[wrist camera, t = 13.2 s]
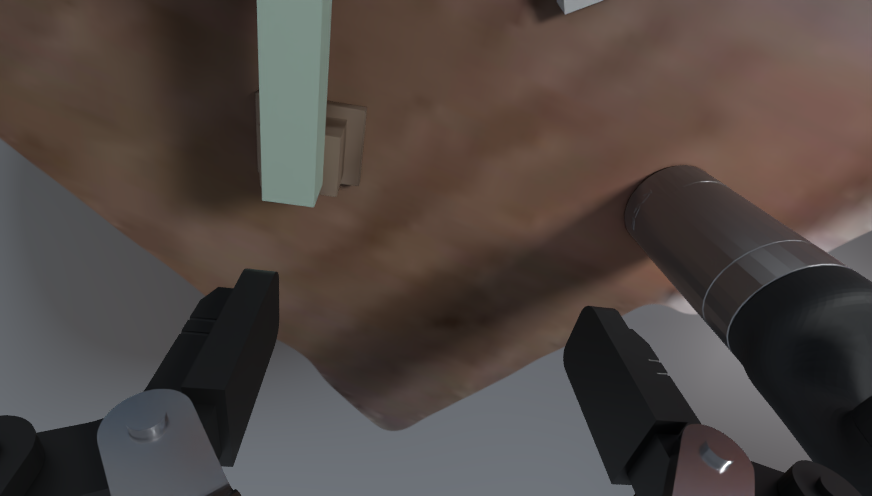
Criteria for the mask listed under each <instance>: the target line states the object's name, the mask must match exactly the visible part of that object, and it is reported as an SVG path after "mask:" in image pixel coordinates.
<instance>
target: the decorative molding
mask: <svg viewBox="0 0 872 496" xmlns="http://www.w3.org/2000/svg"><path fill="white" fill-rule="evenodd" d="M600 1H603V0H557V3H558V4H559V6H560V8H561V9H562V11H563V12H564V14H568V13H570V12H573V11H576V10H579V9H581V8H584V7H587V6H589V5H592V4H595V3H597V2H600Z"/></svg>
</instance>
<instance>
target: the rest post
mask: <svg viewBox="0 0 872 496" xmlns="http://www.w3.org/2000/svg"><path fill="white" fill-rule="evenodd" d="M255 104H256V134H257V163H258V172H260V187H262V173H261V136H260V99H259V90H258V91H256V92H255ZM366 114H367V107H363V106H357V105H351V104H345V103H339V102H333V101H327V106H326V126H325V145H324V164H323V183H322V187H321V190H320V192H319V195H326V196H333V197H337V193H338V190H339V187H340V184H346V185H353V186H359V183H360V175H361V165H362V155H363V145H364V135H365V124H366Z"/></svg>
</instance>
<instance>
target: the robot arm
mask: <svg viewBox="0 0 872 496" xmlns="http://www.w3.org/2000/svg"><path fill="white" fill-rule="evenodd" d="M624 219H625V226H626V228H627V230H628V232H629V234H630V235H631V236H632V237H633V238H634V239H635V241H636V242H637V243H638V244H639V245H640V246H641V248H642V249H643V250H644V251H645V252H646V254H647V255H648V256H649V257H650V259H651V260H652V261H653V262H654V263H655V264H656V265H657V267H658V268H659V269H660V270H661V271H662V272H663V274H664V275H665V276H666V277H667V278H668V279H669V281H670V282H671V283H672V284H673V285H674V286H675V287H676V289H677V290H678V291H679V292H680V293H681V294H682V296H683V297H684V298H685V299H686V300H687V301H688V303H689V304H690V305H691V306H692V307H693V308H694V310H695V311H696V312H697V313H698V314H699V315H700V316H701V318H703V320H704V321H705V322H706V323H707V325H708V326H709V327H710V328H711V329H712V330H713V331H714V332H715V334H716V335H717V336H718V337H719V338H720V339H721V340H722V342H723V343H724V344H725V345H726V346H727V347H728V349H729V350H730V351H731V352H732V353H733V354H734V355H735V357H736V358H737V359H738V360H739V361H740V362H741V364H742V365H743V367H744V369H745V371H746V373H747V375H748V377H749V379H750V380H751V382H752V383H753V385H754V386H755V387H756V388H757V390H758V391H759V392H760V394H761V395H762V396H763V397H764V399H765V400H766V401H767V402H768V403H769V405H770V406H771V407H772V408H773V410H774V411H775V412H776V413H777V415H778V416H779V417H780V419H781V420H782V421H783V423H784V424H785V425H786V426H787V428H788V429H789V430H790V432H791V433H792V434H793V436H794V437H795V438H796V440H797V441H798V442H799V443H800V445H801V446H802V448H803V449H804V450H805V452H806V453H807V454H808V455H809V457H810V458H811V459H812V461H813V462H812V461H807V460H804V461H803V460H801V461H798V462H796V463H795V464H794V465H793V466H791V467H790V468H789V469H788V470H787V471H786V472H785V473H784V472H781V471H777V470H775V469H772V468H769V467H766V466H764V465H761V464H758V463H755V462H752V461H750V459H749V457H748V456H747V455H746V453H745V452H744V451H743V450H742V448H741V447H740V446H739V445H738V444H737V443H736V442H735V441H733V440H732V439H731V438H729V437H728V436H727V435H726V434H724V433H722V432H721V431H719V430H716V429H715V428H713V427H710V426H707V425H703V424H701V423H700V421H699V420H698V418H697V417H696V415H695V413H694V412H693V410H692V409H691V408H690V406H689V404H688V403H687V401H686V400H685V398H684V397H683V395H682V394H681V392H680V391H679V389H678V388H677V386H676V385H675V383H674V382H673V380H672V379H671V377H670V376H668V375H667V371H666V370H665V368H664V366H663V365H662V364H661V363H659V359H658V357H657V356H656V354H655V353H654V351H653V350H652V349H651V347H650V345H649V344H648V343H647V342H646V341H645V340H644V339H643V338H642V337H640V336H639V335H638V334H637V333H636V332H635V331H634V330H633V329H629V328H628V326H627V325H626V323H625V322H624V320H623V319H622V317H621V315H620V314H619V312H618V311H617V310H616V309H613V308H603V307H594V306H586V307H584V308H583V310H582V311H581V313H580V315H579V318H578V320H577V322H576V324H575V326H574V328H573V331H572V333H571V335H570V337H569V339H568V341H567V343H566V346H565V349H564V356H563V358H564V359H563V361H564V367H565V370H566V373H567V375H568V378H569V380H570V383H571V385H572V387H573V390H574V392H575V395H576V397H577V400H578V402H579V405H580V407H581V410H582V412H583V414H584V417H585V419H586V422H587V424H588V427H589V429H590V432H591V434H592V437H593V439H594V442H595V444H596V447H597V449H598V451H599V454H600V456H601V459H602V461H603V463H604V466H605V468H606V471H607V474H608V476H609V478H610V481H611V483H612V484H622V485H632V487H633V489H634V491H635V495H634V496H872V282H871V281H869V280H868V279H866V278H865V277H863V276H862V275H860V274H859V273H857V272H856V271H854V270H852V269H851V268H849V267H848V266H846V265H845V264H843V263H842V262H840V261H839V260H837V259H836V258H834V257H833V256H831V255H830V254H828V253H827V252H825V251H824V250H822V249H820V248H819V247H817V246H816V245H814V244H813V243H811V242H810V241H808V240H807V239H805V238H804V237H802V236H801V235H799V234H798V233H796V232H795V231H793V230H792V229H790V228H789V227H787V226H786V225H784V224H783V223H781V222H780V221H778V220H777V219H775V218H774V217H772V216H771V215H769V214H768V213H766V212H765V211H763V210H762V209H760V208H759V207H757V206H756V205H754V204H753V203H751V202H750V201H748V200H747V199H745V198H744V197H742V196H741V195H739V194H738V193H736V192H734V191H733V190H731V189H730V188H729V187H727V186H726V185H724V184H723V183H721V182H720V181H718V180H717V179H715V178H714V177H712V176H711V175H709V174H708V173H706V172H705V171H703V170H701V169H699V168H697V167H694V166H688V165H680V166H673V167H669V168H666V169H663V170H661V171H659V172H656V173H655V174H653V175H652V176H650V177H648V178H647V179H646V180H645V181H644V182H643V183H641V184H640V185H639V186H638V188H637V189H636V190H635V191H634V192H633V194H632V196H631V197H630V199H629V201H628V204H627V206H626V209H625V217H624ZM278 328H279V275H278V272H274V271H264V270H255V269H244V270H243V272H242V274H241V276H240V277H239V279H238V281H237V283H236V285H235V287H234V289H233V288H223V287H218V288H216V289H215V290H214V291H212V292H211V293H210V294H208V295H207V296H205V297H204V298H203V299H201V300H200V302H199V303H198V305H197V307H196V308H195V310H194V311H193V313H192V314H191V316H190V320H188V321H187V323H186V324H185V326H184V327H183V329H182V333H181V334H179V336H178V337H177V339H176V340H175V342H174V344H173V345H172V347H171V348H170V350H169V352H168V353H167V355H166V357H165V358H164V360H163V361H162V363H161V365H160V366H159V368H158V370H157V371H156V373H155V374H154V376H153V378H152V379H151V381H150V382H149V384H148V386H147V387H146V389H145V390H144V391H143V392H141V393H138V394H136V395H134V396H131V397H129V398H127V399H125V400H124V401H122V402H121V403H119V404H118V405H116V406H115V407H114V408H113V409H112V410H111V411H110V412H109V413H108V414H107V415H106V416H105V417H104V418H103V419H100V420H97V421H93V422H89V423H85V424H79V425H74V426H69V427H64V428H59V429H54V430H49V431H44V432H39V433H36V431H35V429H34V427H33V426H32V424H31V423H30V422H29V421H27V420H25V419H23V418H21V417H17V416H8V415H4V416H0V496H241V494H240V493H239V492H238V491H237V490H236V489H235V490H233V489H232V488H231V486H230V484H229V483H228V481H227V478H226V476H225V474H224V472H223V470H222V467H221V466H228V467H233V465H234V462H235V460H236V456H237V453H238V451H239V448H240V445H241V442H242V439H243V436H244V433H245V430H246V428H247V424H248V422H249V419H250V416H251V413H252V410H253V407H254V404H255V401H256V398H257V396H258V392H259V390H260V387H261V384H262V381H263V378H264V375H265V372H266V369H267V366H268V364H269V360H270V358H271V355H272V352H273V349H274V346H275V342H276V339H277V334H278Z"/></svg>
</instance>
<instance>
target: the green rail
mask: <svg viewBox="0 0 872 496" xmlns="http://www.w3.org/2000/svg"><path fill="white" fill-rule="evenodd" d="M331 10H332V0H257V25H258V62H259V99H260V136H261V173H262V201H270V202H278V203H285V204H293V205H300V206H308V207H314V206H315V203H316V200H317V198H318V195H319V192H320V190H321V187H322V183H323V164H324V145H325V126H326V106H327V87H328V68H329V48H330V29H331Z"/></svg>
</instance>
